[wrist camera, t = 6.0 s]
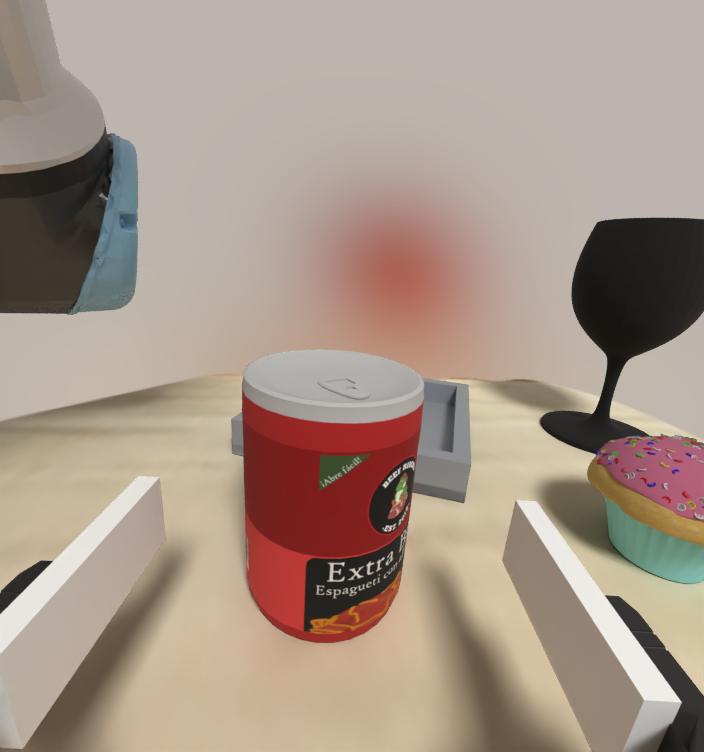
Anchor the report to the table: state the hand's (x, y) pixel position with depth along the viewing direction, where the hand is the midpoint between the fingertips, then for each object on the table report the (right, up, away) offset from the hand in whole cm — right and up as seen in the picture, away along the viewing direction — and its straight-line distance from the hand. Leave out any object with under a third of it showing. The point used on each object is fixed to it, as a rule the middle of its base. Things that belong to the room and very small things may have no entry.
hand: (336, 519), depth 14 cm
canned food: (-1, -5, +6) cm, 8 cm away
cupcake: (+19, -5, +9) cm, 21 cm away
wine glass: (+25, -1, +25) cm, 35 cm away
